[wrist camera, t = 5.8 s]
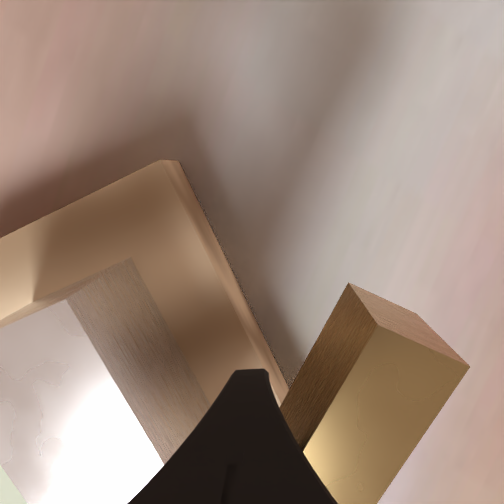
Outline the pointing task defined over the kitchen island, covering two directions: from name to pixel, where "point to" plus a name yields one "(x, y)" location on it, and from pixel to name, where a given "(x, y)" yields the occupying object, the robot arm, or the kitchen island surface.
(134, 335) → the white boxy block
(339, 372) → the wooden block
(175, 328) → the base
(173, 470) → the robot arm
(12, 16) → the kitchen island surface
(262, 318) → the kitchen island surface
